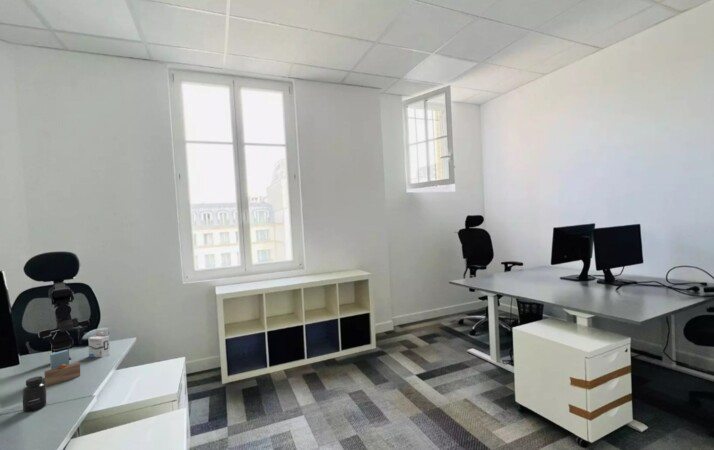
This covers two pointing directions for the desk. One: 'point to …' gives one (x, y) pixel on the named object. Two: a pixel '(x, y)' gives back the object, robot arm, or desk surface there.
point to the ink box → (99, 344)
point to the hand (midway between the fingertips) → (67, 345)
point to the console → (61, 373)
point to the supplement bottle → (34, 394)
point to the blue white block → (59, 358)
